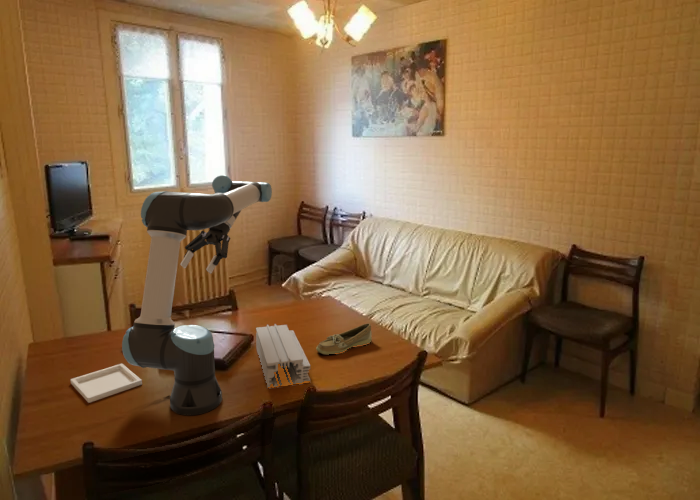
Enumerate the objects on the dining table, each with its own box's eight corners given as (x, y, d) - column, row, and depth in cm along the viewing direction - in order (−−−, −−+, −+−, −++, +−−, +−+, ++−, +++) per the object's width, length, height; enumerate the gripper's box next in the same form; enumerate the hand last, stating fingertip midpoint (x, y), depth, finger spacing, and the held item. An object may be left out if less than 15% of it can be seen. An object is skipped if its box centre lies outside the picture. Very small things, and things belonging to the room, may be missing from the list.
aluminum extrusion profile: (293, 346, 188) (293, 322, 186) (310, 383, 160) (310, 356, 158) (256, 350, 184) (255, 325, 182) (267, 389, 156) (266, 361, 153)
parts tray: (142, 387, 155) (141, 380, 154) (88, 405, 144) (88, 398, 143) (122, 370, 166) (122, 363, 165) (71, 386, 154) (70, 379, 154)
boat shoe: (311, 352, 183) (311, 333, 181) (357, 335, 199) (358, 318, 198) (328, 361, 176) (328, 341, 174) (374, 343, 192) (375, 325, 191)
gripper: (250, 233, 189) (225, 279, 180) (204, 226, 201) (178, 269, 191) (241, 221, 183) (214, 268, 174) (194, 215, 195) (166, 259, 186)
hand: (195, 269), depth 183 cm, fingers open, 13 cm apart
